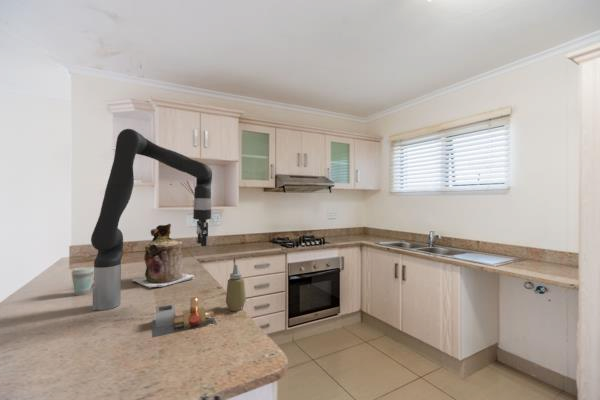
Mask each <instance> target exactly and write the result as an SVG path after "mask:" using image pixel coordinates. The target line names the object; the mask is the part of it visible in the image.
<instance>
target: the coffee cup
mask: <svg viewBox="0 0 600 400" xmlns="http://www.w3.org/2000/svg"><path fill="white" fill-rule="evenodd" d="M71 276H72V283H73V290H74V292H73V293H74V295H75V296H85V295H88V294H90V293H91V291H92V284H93V279H94V266H81V267H76V268H73V269H72V271H71Z"/></svg>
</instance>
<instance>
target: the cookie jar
mask: <svg viewBox="0 0 600 400" xmlns="http://www.w3.org/2000/svg"><path fill="white" fill-rule="evenodd" d="M171 227H172V224H171V223H168V224H164V225H163V224H160V225H157V227H155V228H152V229H151V230H150V236H152V237H153V238H152V240H151V241H150V242H149V243H148V244H146V245H145V246H144V251H145V253H144V258H143V260H144V263H145V266H146V269H145V272H144V277H142V278H133V279H131V281H132V282H133V283H138V285H141V286H144V287H146V288H149V289H152V288H156V287H157V288H158V287H159V288H161V287H162V288H164V287H166V286H170V285H174V284H177V283H181V282H185V281H189V280H190V281H191V280H194V279H195V275H196V274H195V275H193V274H188V273H183V272H182V270H183V256H182V249H181V246H182V243H183V242H182V241H178V240H177V241H176V240H175V239H173V238H171V237H170V235H171V232H172V231H171Z"/></svg>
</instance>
